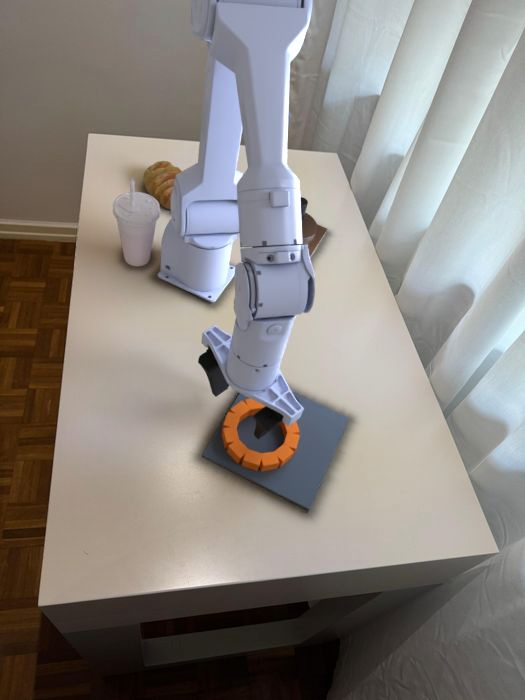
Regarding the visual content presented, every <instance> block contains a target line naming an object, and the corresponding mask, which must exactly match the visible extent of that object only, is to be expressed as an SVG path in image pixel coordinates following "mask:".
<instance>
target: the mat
mask: <svg viewBox="0 0 525 700" xmlns="http://www.w3.org/2000/svg"><path fill="white" fill-rule="evenodd" d="M291 391H292V393H293V395H294V396H295V397H296V398H297V399H298V400H299V402H300V405H301V406H302V407H303V408H304V410H303V412H302V414H301V417H300V418H299V419H298V420H297V421H296V422H297V425H298V428H299V431H300V432H299V435H300V437H299V440H298V444H297V448H296V450H295V453H294V455H293V456H292V458H291V459H290V460H288V461H287V462H286V463H285V464H284V465H283V466H281V467H279V466H278V467H277V469H274V470H268V471H261V470H260V466H259V468H258V471H255V470H252V469H249V468H246V467H243V466H241V465H242V462H243V460H242V461H241V462H240V463H237V462H236V461H235V460H234V459H233V458H232V457H231V456H230V455H229V454H228V453H227V450H228V448H227V449H225V447H224V442H223V438H222V428H223V424H224V421H225V419H226V416H227V414H226V415H225V417H224V418H223V420H222V421H221V424H220V425H219V427H218V429H217V430H216V432H215V433H214V435H213V437H212V438H211V440H210V442H209V444H208V445H207V447H206V448H205V450H204V451H203V453H202V458H204V459H206V460H208V461H210V462H212V463H214V464H216V465H218V466H220V467H222V468H224V469H226V470H228V471H230V472H232V473H233V474H236V475H238V476H239V477H242V478H244V479H245V480H248V481H249V482H251V483H253V484H255V485H257V486H260V487H261V488H263V489H265V490H267V491H269V492H271V493H273V494H275V495H277V496H279V497H281V498H283V499H285V500H287V501H289V502H290V503H293V504H295V505H296V506H298V507H301V508H302V509H304V510H306V511H310V510H311V507H312V506H313V503H314V500H315V498H316V497H317V494H318V491H319V490H320V487H321V484H322V482H323V480H324V477H325V475H326V473H327V471H328V468H329V466H330V463H331V461H332V460H333V456H334V454H335V452H336V450H337V448H338V445H339V442H340V440H341V438H342V436H343V433H344V431H345V429H346V426H347V424H348V421H349V419H350V418H349V417H348V416H345V415H344V414H341V413H339V412H337V411H335V410H333V409H331V408H328V407H327V406H325V405H323V404H320V403H319V402H316V401H314V400H313V399H310V398H308V397H306V396H304V395H302V394H300V393H297V392H296V391H293V390H291ZM245 399H251V398H249V397H247V396H245V395H243V394H241V393H239V392H238V395H237V397H236V399H235V400H234V401H233V403H232V405H231V407H230V408H229V410H228V412H230V409H231V408H232V407H234V406H235V405H236V404H238V403H239V402H240V401H243V402H244V403H245ZM253 416H254V415H251V416H247V417H246V418H245V419H243V420H242V421H241V422H239V423H238V426H237V433H238V437H239V440H240V441H241V442H242V443H243V444H244V445H245V446H246V447H247V448H248V449H249V450H252V451H255V452H258V453H268V452H274V451H276V450H277V449H278V448H279V447H280V446H282V445H283V442H284V439H285V438H284V435H283V431H282V428H281V427H280V426H279V425H277V426H276V427H274V428H273V429H271V430H270V431H269V432H267V433H266V434H265V435H264V436H262V437H261V438H260V439H257V438H256V437H255V436H254V431H255V428H256V420H255V418H254V417H253Z"/></svg>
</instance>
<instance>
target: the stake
mask: <svg viewBox="0 0 525 700" xmlns="http://www.w3.org/2000/svg"><path fill="white" fill-rule="evenodd" d="M300 197H301V221H302V244H294V245H308V249H309V257H310V259H312V257H313V255H314V253H315V252H316V250H317V249H318V247H319V245H320V244H321V242H322V241H323V239H324V238H325V236H326V234H327V232H328V228H327V227H325V226H323V225H320V224H317V221H316V220H315V218H314V217H313V216H312V215H310V214H309V213H308V212H307V207H308V205H309V201H308V199H307V198H305V197H303V196H300Z"/></svg>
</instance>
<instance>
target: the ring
mask: <svg viewBox="0 0 525 700" xmlns="http://www.w3.org/2000/svg"><path fill="white" fill-rule="evenodd" d="M231 407H232V406H231ZM231 407H230V408H231ZM264 407H265V405H263V404H261V403H259V402H257V401H255V400H253V399H245V403H244V402H243V401H240V402H239V403H238V404H236V405H235V406H234V407H232V408H231V409H230V408H229V410H230V412H229V411H228V412H227V413H226V415H227V416H226V415H225V417H226V419H225V421H224V424H223V428H222V438H223V442H224V447H225V449H227V448H228V450H227V453H228V454H229V455H230V456H231V457H232V458H233V459H234V460H235V461H236V462H237V463H240V462H241V461H242V460H243V462H242V465H241V466H243V467H246V468H249V469H252V470H255V471H258V468H259V466H260V470H261V471H268V470H274V469H277V467H278V466H279V467H281V466H283V465H284V464H285V463H286V462H287V461H288V460H290V459H291V458H292V456H293V455H294V453H295V450H296V448H297V444H298V440H299V437H300V435H299V432H300V431H299V428H298V425H297V422H296V421H295V422H294V423H293V424H291V425H290V426H289V427H288V426H287V425H286V424H285V423H284V422H283V421H282V422H281V423H279V424H278V425H279V426H280V427H281V428H282V431H283V435H284V438H285V439H284V442H283V445H282V446H280V447H279V448H278V449H277V450H276V451H274V452H268V453H258V452H255V451H252V450H249V449H248V448H247V447H246V446H245V445H244V444H243V443H242V442H241V441H240V440H239V437H238V433H237V426H238V423H239V422H241V421H242V420H243V419H245V418H246V417H247V416H251V415H254V414H256V413H257V412H258V411H260V410H261V409H262V408H264Z"/></svg>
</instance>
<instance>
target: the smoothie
mask: <svg viewBox="0 0 525 700" xmlns="http://www.w3.org/2000/svg"><path fill="white" fill-rule="evenodd" d="M160 205H161V204H160V203H159V202H158V201H157V200H156V199H155V198H154V197H152V196H151V195H150V194H149V193H146V192H143V191H142V192H141V191H135V178H133V177H131V178H129V192H124V193H122V194H120V195H118V196H117V197H116V198H115V199H114V201H113V203H112V214H113V216H114V218H115V219H116V223H117V228H118V232H119V238H120V243H121V247H122V253H123V257H124V261H125V262H126V263H127V264H128V265H130V266H133V267H142V266H145V265H147V264H148V263H149V262H150V259H151V253H152V249H153V243H154V237H155V232H156V226H157V222H158V220H159V219H160V216H161V206H160Z"/></svg>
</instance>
